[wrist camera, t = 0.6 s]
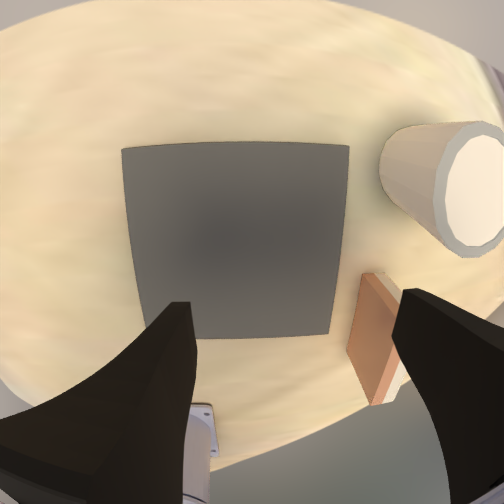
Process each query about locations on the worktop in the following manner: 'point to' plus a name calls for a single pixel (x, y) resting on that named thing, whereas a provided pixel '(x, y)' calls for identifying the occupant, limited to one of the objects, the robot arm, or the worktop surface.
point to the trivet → (238, 233)
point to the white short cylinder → (449, 182)
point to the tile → (376, 339)
